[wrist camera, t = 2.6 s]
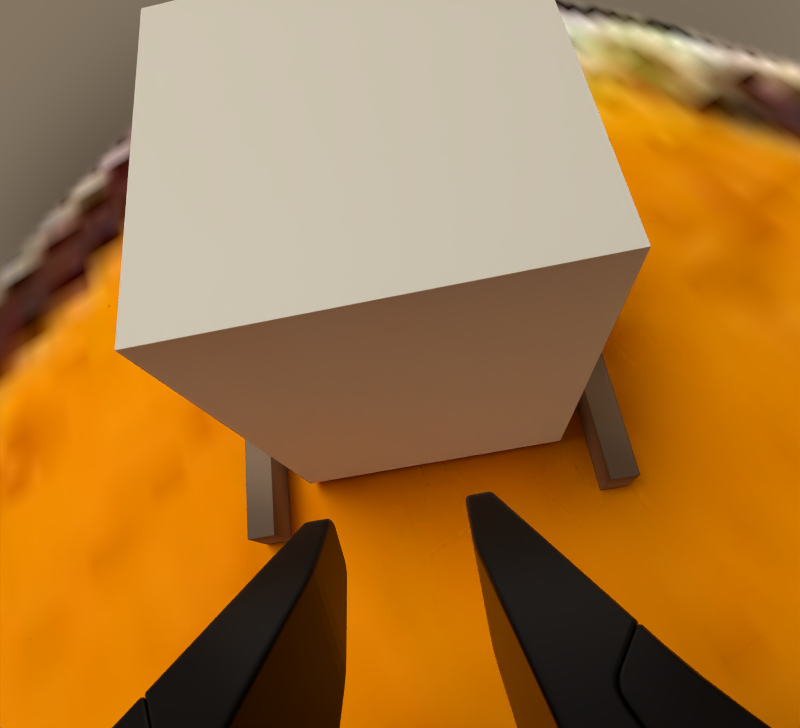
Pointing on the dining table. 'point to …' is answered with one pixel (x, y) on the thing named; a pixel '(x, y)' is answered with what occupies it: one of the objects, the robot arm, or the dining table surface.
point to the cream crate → (371, 226)
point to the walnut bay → (598, 422)
